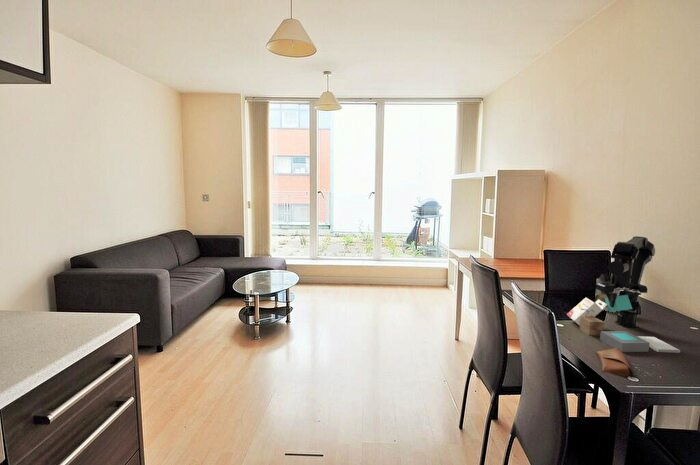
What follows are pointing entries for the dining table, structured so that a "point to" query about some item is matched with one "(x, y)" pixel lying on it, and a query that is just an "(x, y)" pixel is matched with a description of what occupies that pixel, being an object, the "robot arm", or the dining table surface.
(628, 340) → the charcoal plinth
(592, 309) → the ink cartridge box
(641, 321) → the dining table surface
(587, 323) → the walnut block
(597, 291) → the coffee box
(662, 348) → the external hard drive
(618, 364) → the sunglasses case
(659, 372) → the dining table surface
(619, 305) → the teal block
